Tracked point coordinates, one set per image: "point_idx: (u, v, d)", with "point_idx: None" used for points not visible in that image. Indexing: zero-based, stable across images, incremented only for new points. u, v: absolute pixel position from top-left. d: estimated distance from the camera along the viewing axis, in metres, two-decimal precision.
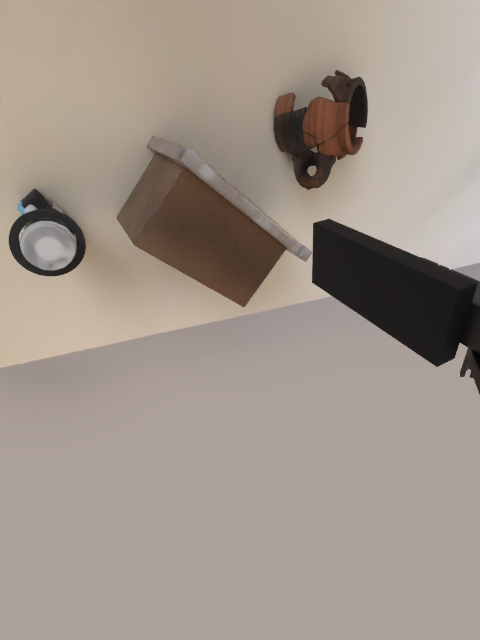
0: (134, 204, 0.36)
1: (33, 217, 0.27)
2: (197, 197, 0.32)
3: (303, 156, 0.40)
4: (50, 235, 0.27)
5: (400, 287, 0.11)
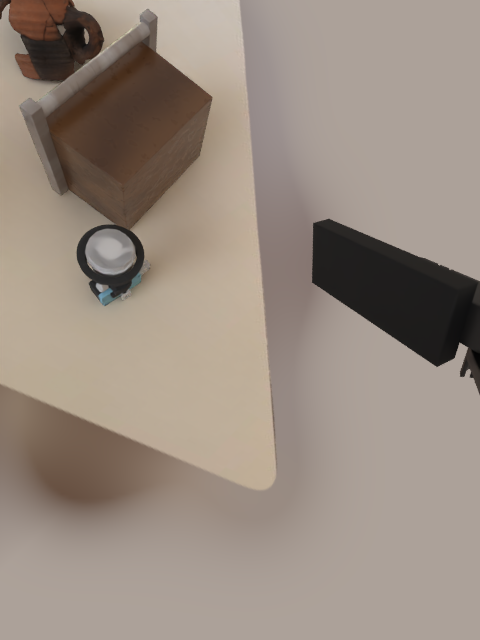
0: (106, 205, 0.37)
1: (82, 258, 0.30)
2: (81, 122, 0.32)
3: (71, 44, 0.40)
4: (97, 244, 0.29)
5: (400, 287, 0.11)
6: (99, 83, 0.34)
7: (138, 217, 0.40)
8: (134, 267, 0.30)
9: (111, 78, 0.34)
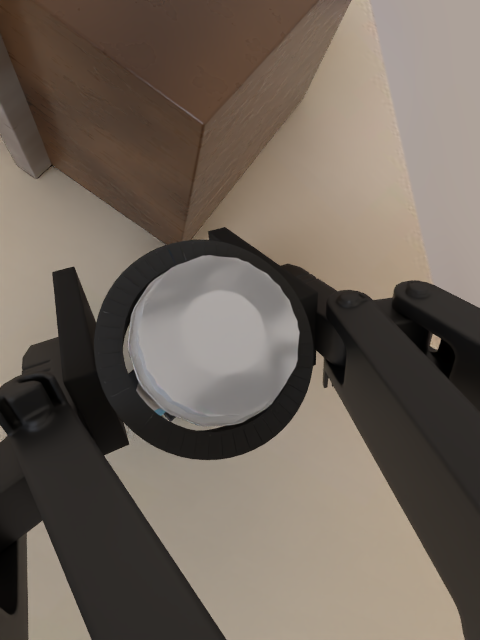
0: (138, 194, 0.16)
1: (117, 370, 0.08)
2: None
3: None
4: (176, 319, 0.08)
5: None
6: None
7: (202, 220, 0.19)
8: (290, 384, 0.09)
9: None
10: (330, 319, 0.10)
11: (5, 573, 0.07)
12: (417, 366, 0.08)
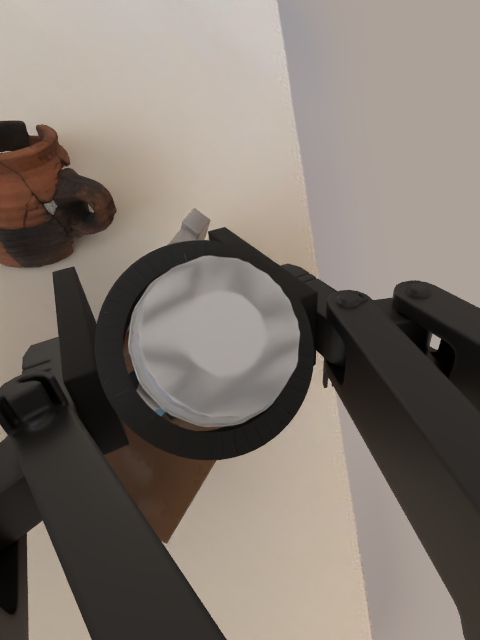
0: None
1: (118, 370, 0.08)
2: None
3: (67, 221, 0.26)
4: (176, 319, 0.08)
5: None
6: None
7: None
8: (291, 384, 0.09)
9: None
10: (330, 319, 0.10)
11: (5, 573, 0.07)
12: (417, 366, 0.08)
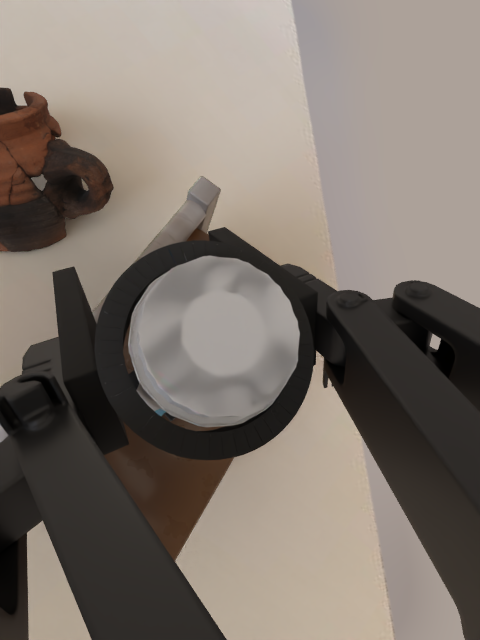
0: None
1: (118, 370, 0.08)
2: None
3: (58, 199, 0.24)
4: (176, 319, 0.08)
5: None
6: None
7: None
8: (291, 384, 0.09)
9: None
10: (330, 319, 0.10)
11: (5, 573, 0.07)
12: (417, 366, 0.08)
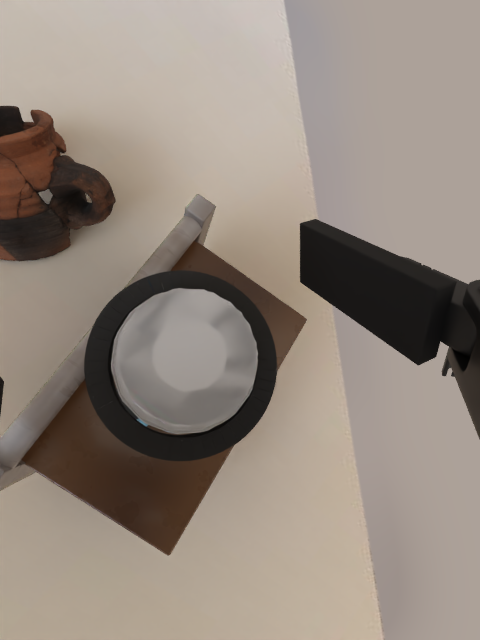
0: None
1: (103, 386, 0.09)
2: (86, 431, 0.17)
3: (63, 211, 0.25)
4: (149, 344, 0.09)
5: (383, 286, 0.11)
6: None
7: None
8: (255, 395, 0.10)
9: None
10: (466, 304, 0.10)
11: None
12: None
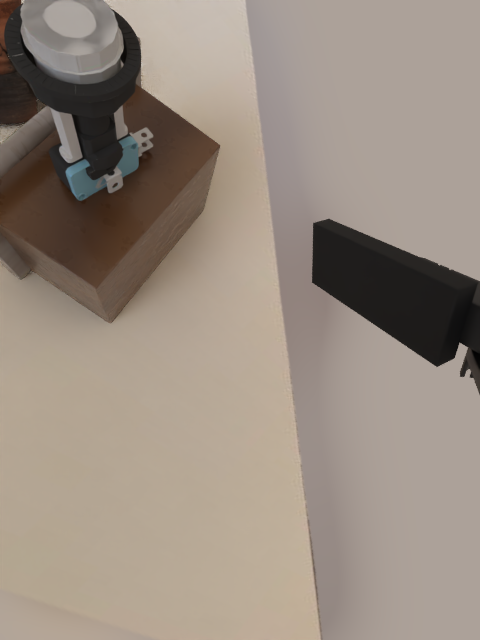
0: (79, 296, 0.27)
1: (16, 45, 0.15)
2: (33, 198, 0.22)
3: None
4: (43, 8, 0.14)
5: (400, 287, 0.11)
6: None
7: (125, 303, 0.30)
8: (122, 71, 0.15)
9: None
10: None
11: None
12: None
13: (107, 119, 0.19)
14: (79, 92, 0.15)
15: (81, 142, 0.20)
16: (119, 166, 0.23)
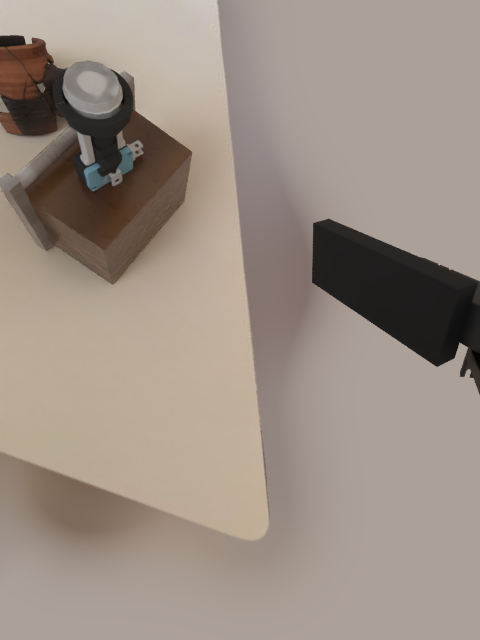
0: (90, 261, 0.38)
1: (60, 97, 0.25)
2: (61, 189, 0.33)
3: (52, 100, 0.41)
4: (76, 76, 0.24)
5: (400, 287, 0.11)
6: (78, 147, 0.34)
7: (124, 269, 0.41)
8: (122, 111, 0.26)
9: None
10: None
11: None
12: None
13: (112, 137, 0.29)
14: (96, 124, 0.25)
15: (95, 152, 0.30)
16: (119, 167, 0.33)
